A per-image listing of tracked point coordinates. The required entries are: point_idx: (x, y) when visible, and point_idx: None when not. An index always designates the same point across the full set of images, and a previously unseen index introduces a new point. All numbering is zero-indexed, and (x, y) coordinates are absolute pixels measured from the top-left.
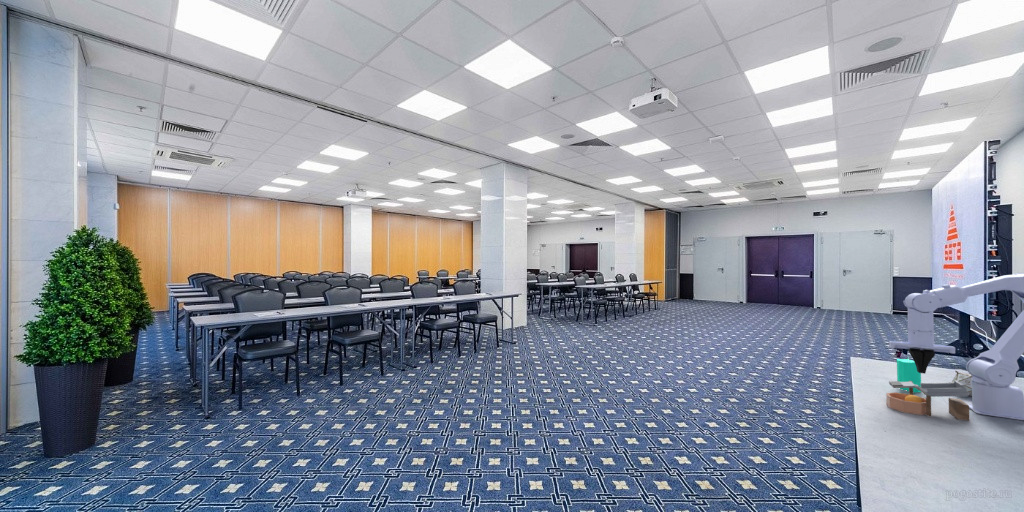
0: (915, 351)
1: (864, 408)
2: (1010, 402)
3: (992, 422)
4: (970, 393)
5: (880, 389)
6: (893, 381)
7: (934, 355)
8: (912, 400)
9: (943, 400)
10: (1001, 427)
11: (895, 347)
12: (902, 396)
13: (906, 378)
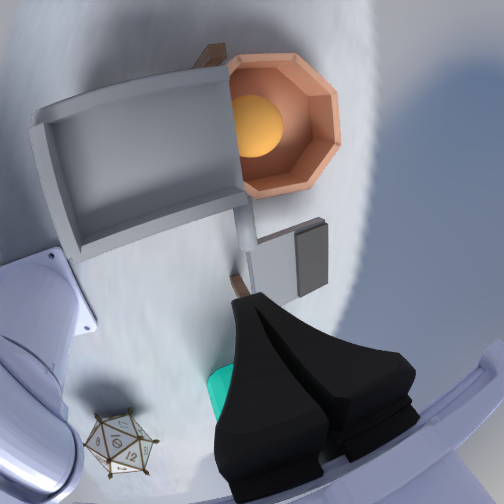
0: (379, 408)
1: (370, 44)
2: None
3: (26, 170)
4: (112, 417)
5: None
6: (315, 288)
7: (216, 434)
8: (261, 97)
9: (153, 342)
10: (12, 126)
11: (475, 367)
12: (282, 182)
13: None
